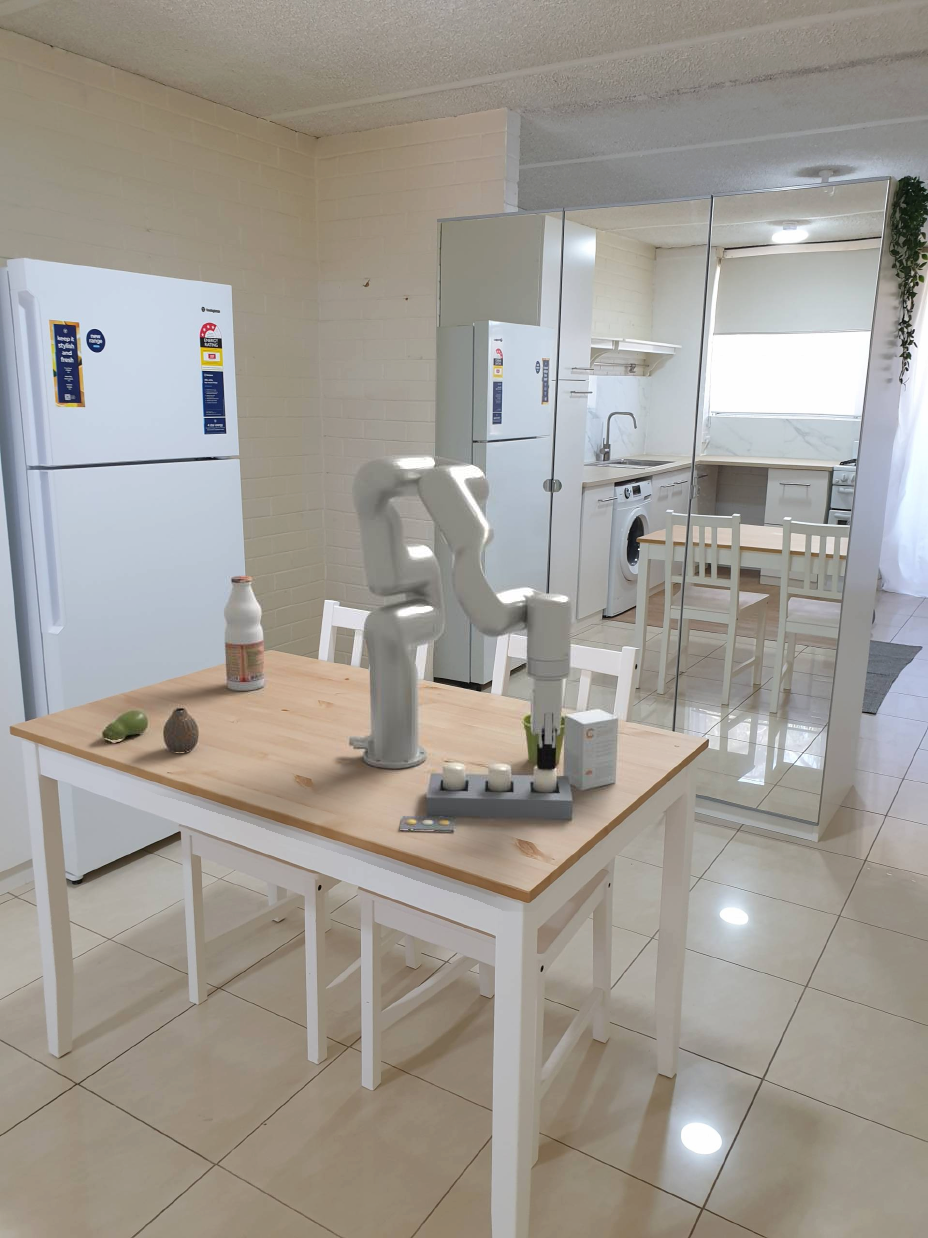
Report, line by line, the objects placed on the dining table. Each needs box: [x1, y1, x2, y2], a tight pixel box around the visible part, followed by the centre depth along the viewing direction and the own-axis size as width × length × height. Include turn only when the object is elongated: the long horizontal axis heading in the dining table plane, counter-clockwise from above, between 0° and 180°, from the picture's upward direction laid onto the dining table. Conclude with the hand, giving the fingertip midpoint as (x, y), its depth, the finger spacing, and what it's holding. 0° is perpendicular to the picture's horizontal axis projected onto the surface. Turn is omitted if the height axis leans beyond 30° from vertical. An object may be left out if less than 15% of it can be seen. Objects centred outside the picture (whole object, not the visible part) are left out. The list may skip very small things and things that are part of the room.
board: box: [425, 772, 574, 821], centre depth 167 cm, size 25×11×4 cm, turn 88°
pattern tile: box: [399, 815, 456, 833], centre depth 158 cm, size 9×5×1 cm, turn 88°
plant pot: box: [521, 713, 565, 766], centre depth 187 cm, size 9×9×9 cm
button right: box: [533, 765, 558, 792], centre depth 166 cm, size 4×4×4 cm
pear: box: [101, 709, 149, 740], centre depth 200 cm, size 6×5×10 cm
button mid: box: [487, 763, 512, 791], centre depth 166 cm, size 4×4×4 cm
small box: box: [562, 708, 619, 791], centre depth 177 cm, size 8×6×13 cm
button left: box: [442, 762, 467, 790], centre depth 166 cm, size 4×4×4 cm
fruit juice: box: [223, 575, 266, 692], centre depth 235 cm, size 9×9×28 cm
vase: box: [162, 707, 200, 753], centre depth 192 cm, size 7×7×9 cm
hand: (546, 767), depth 165 cm, fingers closed
